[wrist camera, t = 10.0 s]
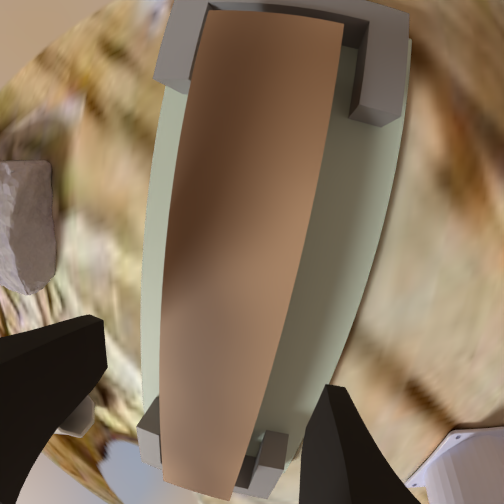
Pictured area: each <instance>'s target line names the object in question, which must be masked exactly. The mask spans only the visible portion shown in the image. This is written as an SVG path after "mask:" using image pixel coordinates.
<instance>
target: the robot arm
mask: <svg viewBox="0 0 504 504" xmlns="http://www.w3.org/2000/svg"><path fill="white" fill-rule="evenodd" d="M107 367H108V365H107V357H106V347H105V335H104V322H103V320H102V319H99V318H97V317H95V316H92V315H90V314H89V315H84V316H80V317H76V318H72V319H69V320H65V321H62V322H58V323H55V324H52V325H48V326H45V327H41V328H38V329H34V330H31V331H27V332H22V333H18V334H14V335H10V336H6V337H1V338H0V504H16V501H17V498H18V496H19V493H20V490H21V488H22V486H23V484H24V482H25V480H26V478H27V476H28V474H29V472H30V470H31V468H32V466H33V464H34V463H35V461H36V459H37V457H38V456H39V454H40V453H41V451H42V450H43V448H44V447H45V445H46V444H47V442H48V441H49V439H50V438H51V436H52V435H53V434H54V432H55V431H56V430H57V429H58V427H59V426H60V425H61V424H62V423H63V422H64V421H65V420H66V419H67V417H68V416H69V415H70V414H71V413H72V412H73V411H74V410H75V409H76V408H77V406H78V405H79V404H80V403H81V402H82V401H83V400H84V399H85V398H86V396H87V395H88V394H89V393H90V392H91V391H92V390H93V388H94V387H95V386H96V384H97V383H98V381H99V380H100V378H101V377H102V375H103V374H104V372H105V370H106V369H107ZM425 486H426V490H427V495H428V500H429V504H504V426H503V427H494V428H483V429H467V430H453V431H451V432H450V433H449V434H448V435H447V436H446V438H445V439H444V440H443V441H442V443H441V444H440V445H439V446H438V447H437V449H436V450H435V451H434V452H433V453H432V454H431V456H430V457H429V458H428V459H427V460H426V461H425V462H424V463H423V465H422V466H421V467H420V468H419V469H418V470H417V471H416V472H415V473H414V474H413V475H412V476H411V477H410V478H409V479H408V480H407V481H406V482H405V485H404V484H403V482H402V481H401V480H400V479H399V477H398V476H397V475H396V473H395V472H394V471H393V469H392V468H391V467H390V465H389V464H388V462H387V461H386V459H385V458H384V456H383V455H382V453H381V451H380V450H379V448H378V447H377V445H376V443H375V441H374V440H373V438H372V436H371V435H370V433H369V431H368V429H367V428H366V426H365V424H364V422H363V420H362V418H361V417H360V415H359V413H358V411H357V409H356V407H355V405H354V403H353V401H352V399H351V397H350V395H349V394H348V392H347V390H346V388H345V387H340V386H334V385H328V384H325V386H324V389H323V391H322V393H321V395H320V398H319V400H318V402H317V404H316V407H315V409H314V411H313V413H312V415H311V418H310V420H309V422H308V424H307V426H306V429H305V435H304V441H303V447H302V454H301V472H300V493H299V504H421V503H420V502H419V501H418V500H417V499H416V498H415V497H414V496H413V494H412V493H411V492H410V491H409V490H408V488H411V487H425Z"/></svg>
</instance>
